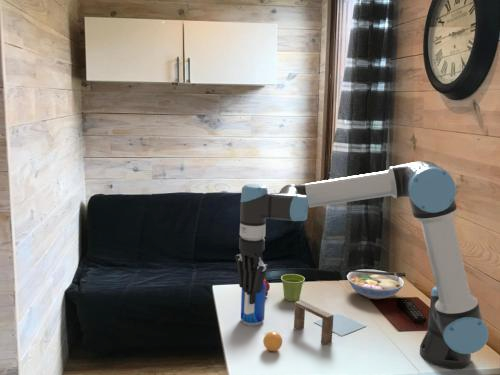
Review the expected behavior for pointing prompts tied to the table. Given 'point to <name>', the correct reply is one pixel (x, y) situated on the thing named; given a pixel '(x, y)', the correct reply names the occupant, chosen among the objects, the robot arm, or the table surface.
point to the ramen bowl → (375, 283)
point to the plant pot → (292, 286)
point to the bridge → (326, 317)
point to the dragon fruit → (266, 287)
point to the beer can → (259, 309)
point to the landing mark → (343, 325)
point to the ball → (272, 341)
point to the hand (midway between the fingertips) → (249, 312)
